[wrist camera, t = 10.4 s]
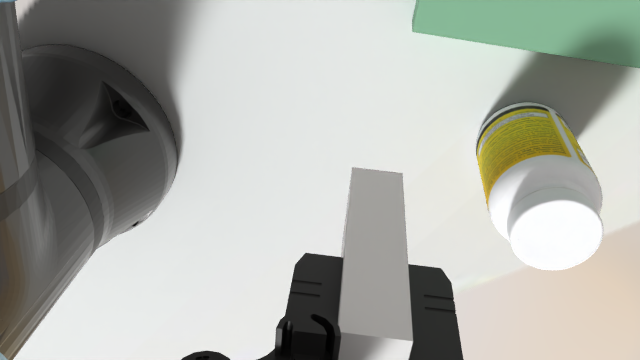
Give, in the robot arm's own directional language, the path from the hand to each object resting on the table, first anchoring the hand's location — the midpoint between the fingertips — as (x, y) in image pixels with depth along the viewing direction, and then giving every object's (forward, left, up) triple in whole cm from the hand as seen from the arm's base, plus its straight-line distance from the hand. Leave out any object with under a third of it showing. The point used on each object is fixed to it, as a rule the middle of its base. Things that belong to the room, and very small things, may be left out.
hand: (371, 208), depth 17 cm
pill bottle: (+10, -7, -22) cm, 25 cm away
